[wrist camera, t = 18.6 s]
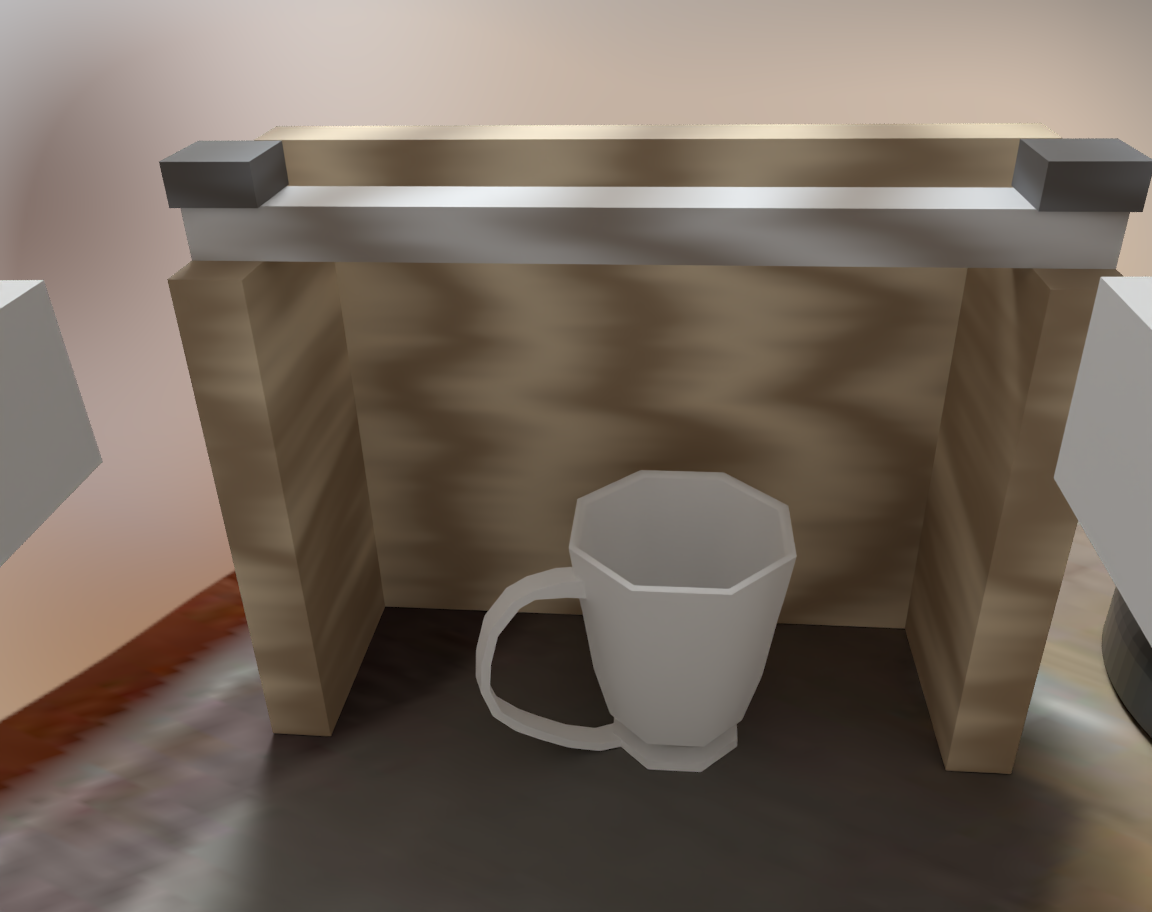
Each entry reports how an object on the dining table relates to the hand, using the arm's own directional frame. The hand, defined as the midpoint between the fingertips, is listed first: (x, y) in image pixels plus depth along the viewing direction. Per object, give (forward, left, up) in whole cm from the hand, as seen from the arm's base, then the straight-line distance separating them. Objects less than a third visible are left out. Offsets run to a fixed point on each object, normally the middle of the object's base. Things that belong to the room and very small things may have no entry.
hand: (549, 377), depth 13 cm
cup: (0, -13, -19) cm, 23 cm away
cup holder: (0, -16, -19) cm, 25 cm away
